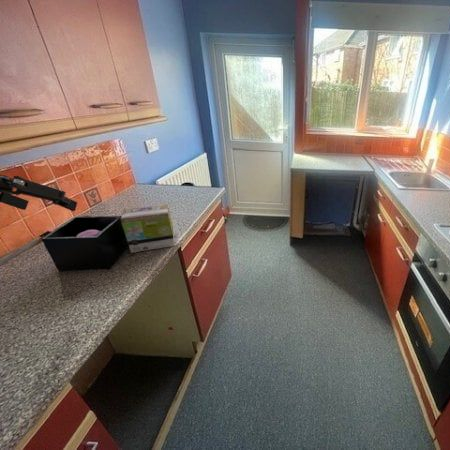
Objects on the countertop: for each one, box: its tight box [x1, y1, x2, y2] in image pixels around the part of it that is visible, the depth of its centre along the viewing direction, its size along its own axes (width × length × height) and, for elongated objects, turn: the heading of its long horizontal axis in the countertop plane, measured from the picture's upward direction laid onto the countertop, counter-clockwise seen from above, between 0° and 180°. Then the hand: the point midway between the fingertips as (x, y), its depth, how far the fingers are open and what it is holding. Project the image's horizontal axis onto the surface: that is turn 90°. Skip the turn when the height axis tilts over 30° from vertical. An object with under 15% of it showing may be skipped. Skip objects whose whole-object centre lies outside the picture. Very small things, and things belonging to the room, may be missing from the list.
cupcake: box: [76, 230, 101, 237], centre depth 87 cm, size 9×9×10 cm
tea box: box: [121, 203, 176, 254], centre depth 95 cm, size 15×10×15 cm, turn 115°
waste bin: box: [41, 215, 130, 272], centre depth 87 cm, size 16×16×13 cm
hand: (50, 206), depth 72 cm, fingers open, 13 cm apart
